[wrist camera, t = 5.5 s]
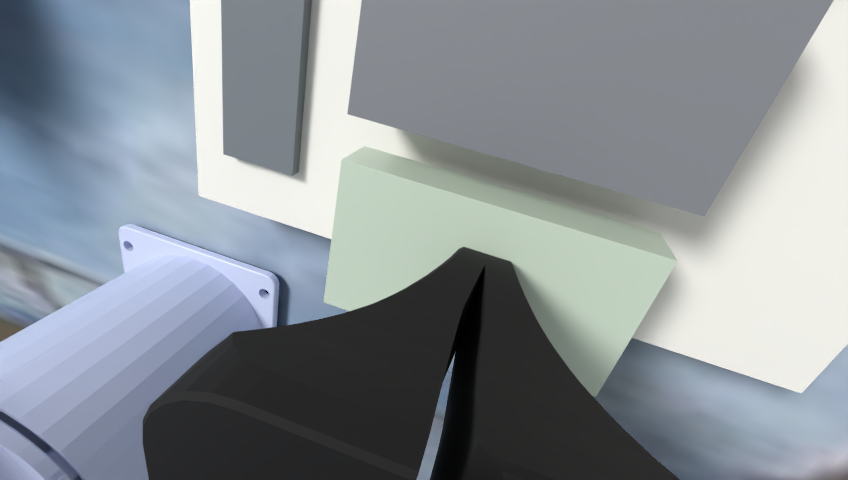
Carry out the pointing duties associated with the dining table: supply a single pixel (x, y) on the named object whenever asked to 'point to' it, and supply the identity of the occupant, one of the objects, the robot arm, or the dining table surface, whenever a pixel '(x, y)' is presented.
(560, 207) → the key sage
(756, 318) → the white flat slab
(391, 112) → the key charcoal
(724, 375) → the dining table surface
